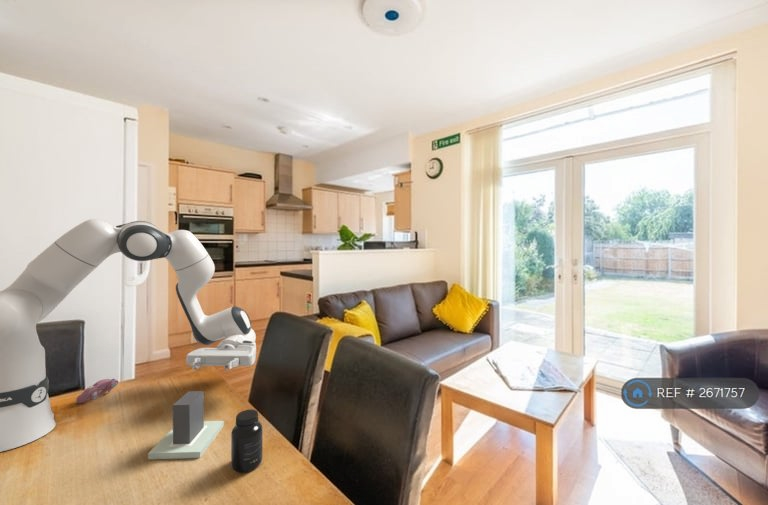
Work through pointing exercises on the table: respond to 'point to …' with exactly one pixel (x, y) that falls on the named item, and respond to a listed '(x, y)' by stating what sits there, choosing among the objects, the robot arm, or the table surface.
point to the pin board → (192, 450)
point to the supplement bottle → (246, 442)
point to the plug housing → (188, 417)
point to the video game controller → (97, 390)
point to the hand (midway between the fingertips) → (210, 366)
